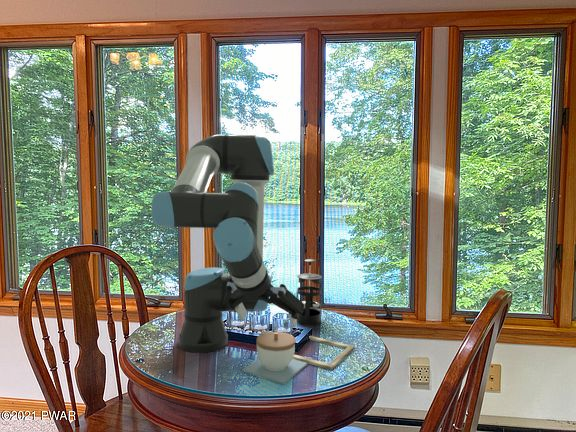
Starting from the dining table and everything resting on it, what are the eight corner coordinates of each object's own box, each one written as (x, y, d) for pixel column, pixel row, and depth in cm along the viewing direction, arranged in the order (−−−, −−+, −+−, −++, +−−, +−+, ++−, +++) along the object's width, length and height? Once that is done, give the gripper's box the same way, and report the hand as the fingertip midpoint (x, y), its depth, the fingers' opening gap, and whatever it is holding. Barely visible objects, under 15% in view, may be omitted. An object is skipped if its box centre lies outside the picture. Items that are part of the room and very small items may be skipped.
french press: (319, 327, 144) (321, 263, 142) (293, 325, 146) (295, 261, 144) (322, 316, 156) (324, 257, 154) (298, 314, 157) (299, 255, 155)
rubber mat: (242, 371, 110) (242, 369, 110) (268, 354, 121) (268, 352, 121) (283, 384, 103) (283, 382, 103) (307, 365, 114) (307, 362, 114)
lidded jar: (290, 377, 106) (291, 342, 105) (251, 372, 108) (251, 338, 107) (298, 360, 116) (298, 328, 115) (261, 355, 118) (262, 324, 117)
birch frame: (279, 355, 120) (279, 352, 120) (305, 336, 135) (305, 334, 135) (331, 370, 112) (331, 367, 112) (354, 348, 126) (354, 346, 126)
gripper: (191, 284, 89) (219, 327, 105) (302, 295, 82) (314, 339, 98) (202, 256, 93) (228, 301, 109) (308, 264, 87) (319, 311, 103)
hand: (269, 319), depth 104 cm, fingers open, 13 cm apart
